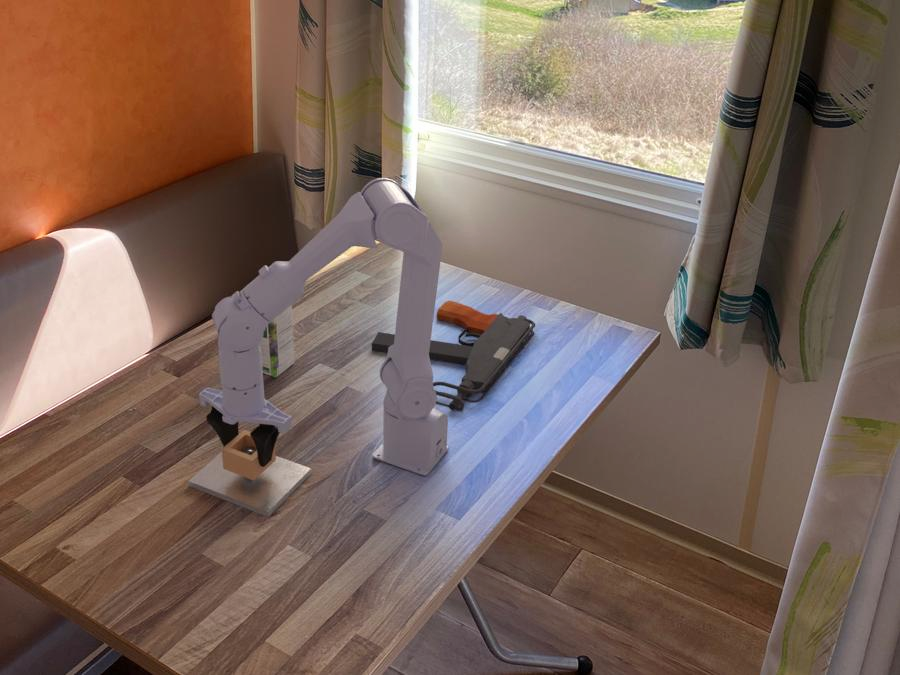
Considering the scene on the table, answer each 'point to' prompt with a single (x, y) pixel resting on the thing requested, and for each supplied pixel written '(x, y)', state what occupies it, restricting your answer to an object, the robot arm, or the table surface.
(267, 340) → the syrup box
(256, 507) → the plate
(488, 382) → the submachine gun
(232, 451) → the ring
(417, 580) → the table surface
